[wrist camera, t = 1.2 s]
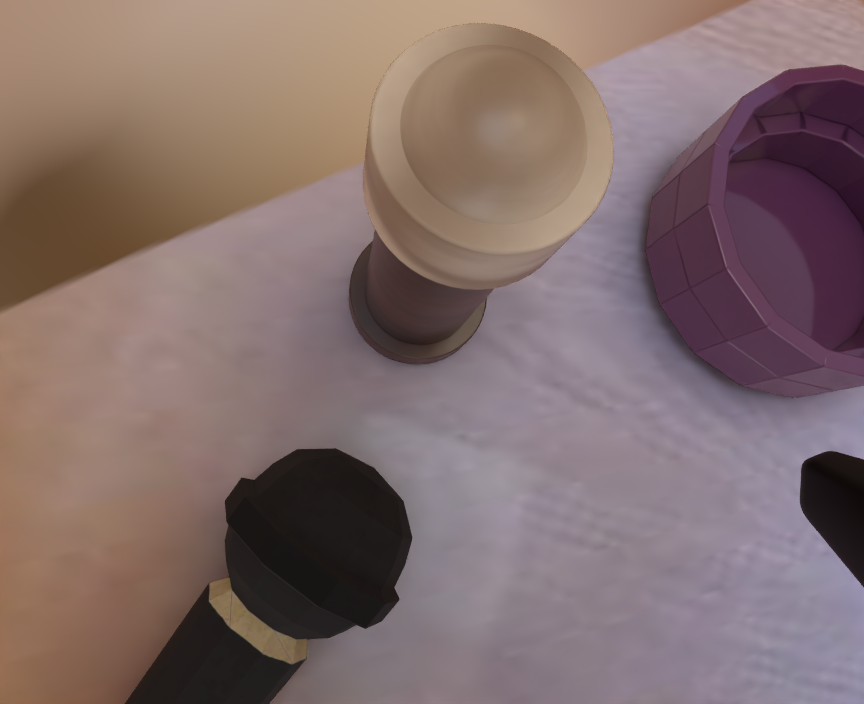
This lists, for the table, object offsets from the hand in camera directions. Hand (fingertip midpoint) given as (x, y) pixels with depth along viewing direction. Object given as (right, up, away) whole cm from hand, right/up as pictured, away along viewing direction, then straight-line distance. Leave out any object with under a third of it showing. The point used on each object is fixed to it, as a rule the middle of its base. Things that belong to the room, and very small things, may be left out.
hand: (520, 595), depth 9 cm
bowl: (+12, +7, +17) cm, 22 cm away
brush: (-2, +5, +15) cm, 16 cm away
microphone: (-10, -8, +11) cm, 17 cm away
